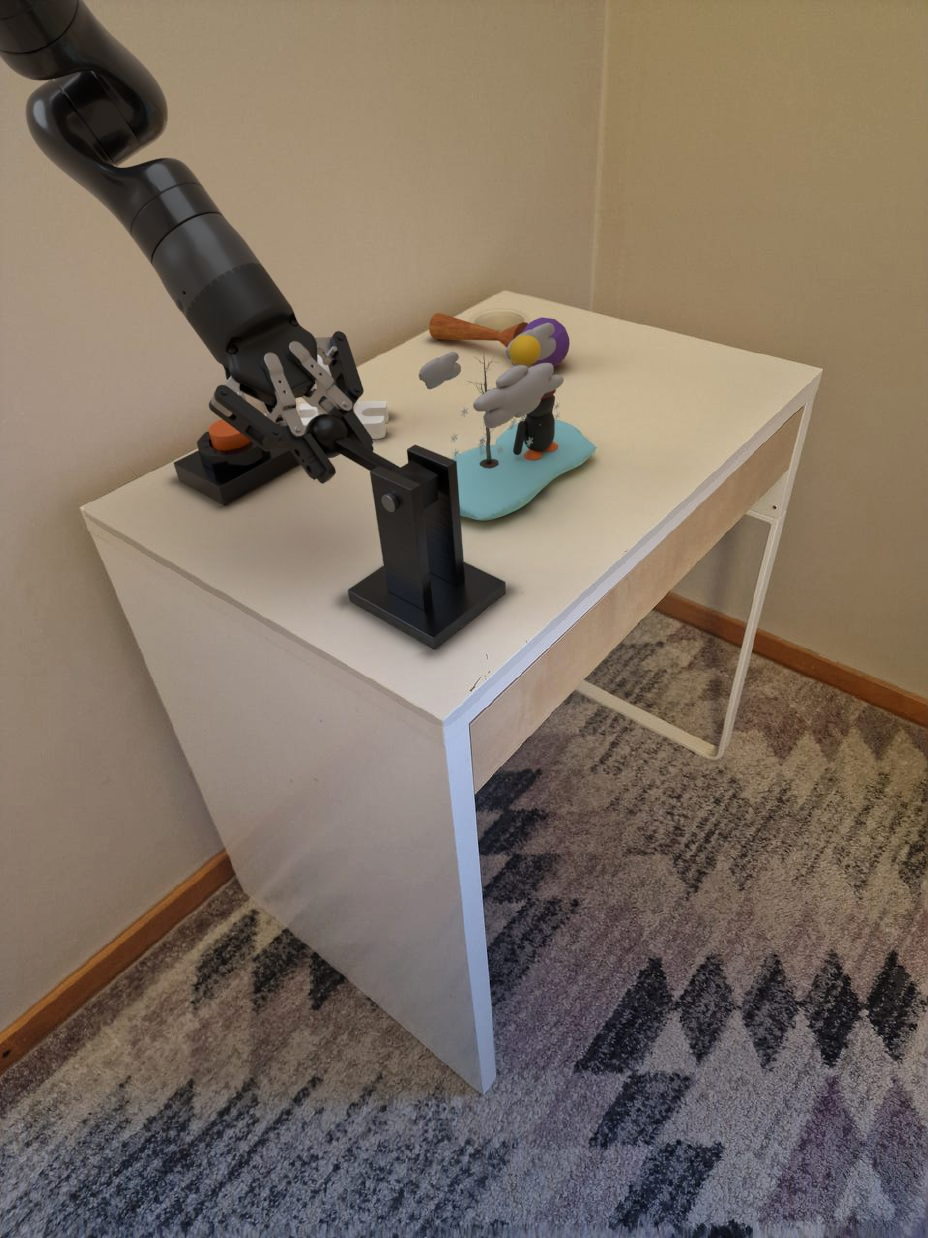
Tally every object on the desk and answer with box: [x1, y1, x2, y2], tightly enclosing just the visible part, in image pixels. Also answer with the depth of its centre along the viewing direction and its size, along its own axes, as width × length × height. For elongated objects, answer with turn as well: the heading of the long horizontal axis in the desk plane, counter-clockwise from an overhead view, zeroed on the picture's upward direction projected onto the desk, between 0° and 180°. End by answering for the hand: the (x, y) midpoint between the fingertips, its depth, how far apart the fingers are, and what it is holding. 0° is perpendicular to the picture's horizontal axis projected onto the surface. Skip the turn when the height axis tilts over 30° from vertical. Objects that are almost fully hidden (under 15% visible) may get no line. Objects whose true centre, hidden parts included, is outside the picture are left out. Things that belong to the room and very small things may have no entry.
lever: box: [305, 414, 438, 510], centre depth 68 cm, size 13×4×4 cm, turn 49°
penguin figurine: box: [418, 323, 597, 521], centre depth 81 cm, size 20×11×15 cm, turn 135°
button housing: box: [172, 431, 300, 507], centre depth 89 cm, size 10×8×4 cm
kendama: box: [428, 312, 570, 368], centre depth 107 cm, size 6×6×20 cm
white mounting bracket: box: [298, 354, 390, 440], centre depth 93 cm, size 5×10×10 cm, turn 88°
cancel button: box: [208, 418, 251, 450], centre depth 87 cm, size 4×4×2 cm
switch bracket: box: [347, 444, 507, 650], centre depth 69 cm, size 10×9×13 cm
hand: (348, 466), depth 70 cm, fingers closed on lever, 3 cm apart
